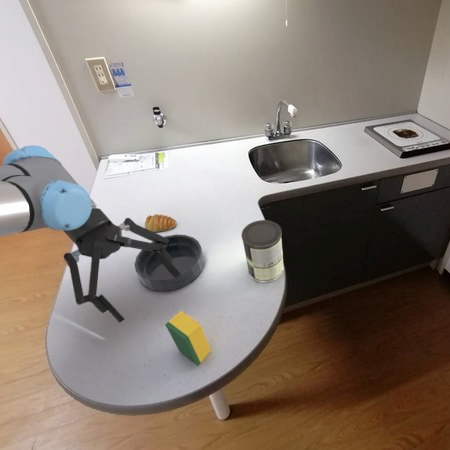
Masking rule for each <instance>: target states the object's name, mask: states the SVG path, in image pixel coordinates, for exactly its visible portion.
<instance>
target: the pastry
mask: <svg viewBox="0 0 450 450" xmlns="http://www.w3.org/2000/svg"><path fill="white" fill-rule="evenodd" d="M176 225H177V221H176V219H175V218H173V217H171V216H168V215H164V214H158V213H156V214H153V215H151V214H150V215H148V216H147V217H146V218H145V220H144V228H145V229H148V230H150V231H152V232H154V233H158V232H166V231H170V230H172V229H174V228H175V227H176Z"/></svg>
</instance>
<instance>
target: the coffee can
mask: <svg viewBox="0 0 450 450" xmlns="http://www.w3.org/2000/svg"><path fill="white" fill-rule="evenodd" d="M282 234H283V233H282V227H281V226H280V225H279V224H278V223H276V222H274V221H272V220H267V219H262V220H255V221H252V222H250V223H248V224H246V226H244V227H243V229H242V231H241V240H242V243H243V249H244V253H245V259H246V266H247V273H248V275H249V277H250V278H251V280H253V281H255V282H257V283H260V284H267V283H272V282H275V281H276V280H278V279H279V278H281V276H282V275H283V273H284V269H285V266H284V254H283V239H282Z"/></svg>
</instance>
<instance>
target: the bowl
mask: <svg viewBox="0 0 450 450" xmlns="http://www.w3.org/2000/svg"><path fill="white" fill-rule="evenodd" d="M164 237H165V238H167V239H168V240H169V242H168V243H167V245H166V246H165V250H166V251H167V252H168V253H169V254H170V255H171V257H172V258H173V261H172V262H171V263H172V264H173V266H174V267H175V268H176V269H177V270H178V271H179V272H180V275H179V276H178V277H176V278H174V277H173V276H172V274H171V273H170V272H169V271H168V270H167V269H166V267H165V266H164V265H163V264H162V263H161V262H160V261H159V259H158V258H157V257H156V255H157V254H158V253H157V252H151V251H146V250H141V249H140V252H139V253H138V254H137V256H136V257H135V261H134V269H135V272H136V274H137V276H138V277H139V280H140V282H141V283H142V284H143V285H144V287H146V288H148V289H150V290H152V291H158V292H166V291H167V292H168V291H172V290H177V289H179V288H182V287H185V286H187V285H188V284H190V283H191V282H192V281H194V280H195V279H197V277H198V276H199V275H200V274H201V272H202V271H203V268H204V266H205V255H204V251H203V248H202V246H201V244H200V242H199V240H197V239H196V238H194V236H190V235H187V234H170V235H165V236H164ZM150 243H154V244H157V243H155V242H153V241H150Z"/></svg>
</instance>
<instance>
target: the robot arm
mask: <svg viewBox="0 0 450 450" xmlns="http://www.w3.org/2000/svg"><path fill="white" fill-rule="evenodd" d="M41 229H50V230H53V231H63V233H65V235H66V236H67V237H68V238H69V239H70V240H71V241H72V243H74V245H76V247H77V249H75V250H74V251H72V252H65V253H64V254H63V261H64V262H65V264H67V267H68V268H69V273H70V278H71V283H72V288H73V294H74V299H75V302H76V305H78V306H80V305H83V304H86V303H91V304H92V305H93V306H94V307H95V308H96V309H97V310H98V311H99V312H100V313H101V314H105V313H106V312H109V314H111V316H112V317H113V318H114V319H115V320H116V321H117V322H118V323H122V322H123V321H125V319H126V318H125V317H124V316H123V315H122V314H121V313H120V312H119V311H118V310H117V309H116V308H115V307H114V306H113V304H111V302H110V301H109V300H108V299H107V298H106V297H105V296H104V295H103V294H102V293H101V294H99V295H97V293H98V281H99V271H100V260H106V259H108V258H110V255H112V254H115V253H117V252H118V251H120V249H121V247H123V248H131V249H136V250H140V251H141V250H146V251H151V252H157V253H158V254H157V255H156V257H157V258H158V259H159V261H160V262H161V263H162V264H163V265H164V266H165V267H166V269H167V270H168V271H169V272H170V273H171V274H172V276H173V277H174V278H176V277H178V276H179V275H180V272H179V271H178V270H177V269H176V268H175V267H174V266H173V264H172V263H171V262H172V261H173V258H172V257H171V255H170V254H169V253H168V252H167V251H166V250H165V246H166V245H167V243H168V242H169V240H168V239H167V238H165V236H163V235H161V234H159V233H157V232H153V231H150V230H148V229H145V227H143V226H141V225H139V224H137V223H136V222H135V221H133V220H132V219H131V218H130V217H126V218H125V219H124V221H123V222H121V223H120V224H119V225H116V224H115V223H114V222H112V220H111V219H110V218H109V217H108V216H107V215H106V214H105V212H104V211H103V210H102V209H101V208H98V207H97V203H96V202H95V201H94V199H92V198H91V196H90V193H88V191H87V190H86V189H85V188H84V187H83V186H81V185H80V184H79V183H78V182H77V181H76V179H74V178H73V176H72V175H71V174H70V173H69V171H68V170H67V168H65V167H64V166H63V164H62V163H61V161H60V160H59V159H57V158H56V157H55V156H54V155H53V154H52V153H51V152H50V151H49V150H48V149H47V148H45V147H43V146H41V145H35V144H34V145H33V144H32V145H26V146H23V147H21V148H16V149H14V150H12V151H11V152H9V153H8V154H7V155H5V157H4V158H3V162H2V164H1V165H0V238H3V237H7V236H12V235H17V234H21V233H27V232H31V231H37V230H41ZM122 231H126V232H130V233H132V234H135V235H137V236H139V237H142V238H144V239H145V240H148V241H144V240H138V239H133V238H130V237H128V236H127V237H126V236H122V235H123V234H122V233H123V232H122ZM149 241H150V242H149ZM151 242H155V243H157V244H154V243H151ZM80 256H84V257H89V258H91V259H90V260H91V261H90V271H89V280H88V291H87V294H85V295H84V291H83V285H82V281H81V280H82V279H81V275H80V270H79V265H78V263H79V262H80Z"/></svg>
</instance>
